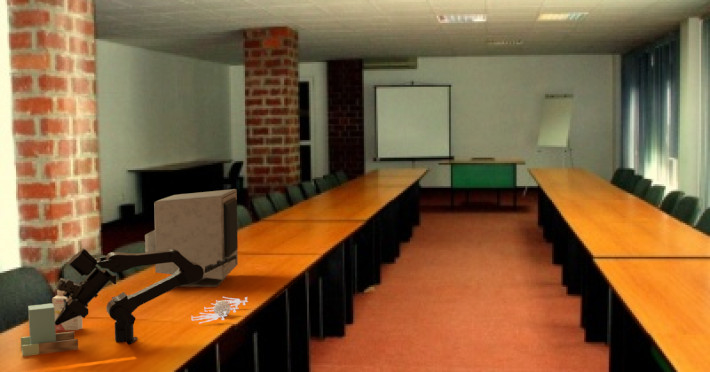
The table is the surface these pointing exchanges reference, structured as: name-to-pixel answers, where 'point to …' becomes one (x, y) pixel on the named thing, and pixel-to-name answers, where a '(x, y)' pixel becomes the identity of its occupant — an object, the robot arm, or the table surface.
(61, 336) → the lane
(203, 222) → the crt monitor
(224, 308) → the molecule model
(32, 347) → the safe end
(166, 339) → the table surface
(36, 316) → the block
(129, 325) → the robot arm
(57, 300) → the ink cartridge box
